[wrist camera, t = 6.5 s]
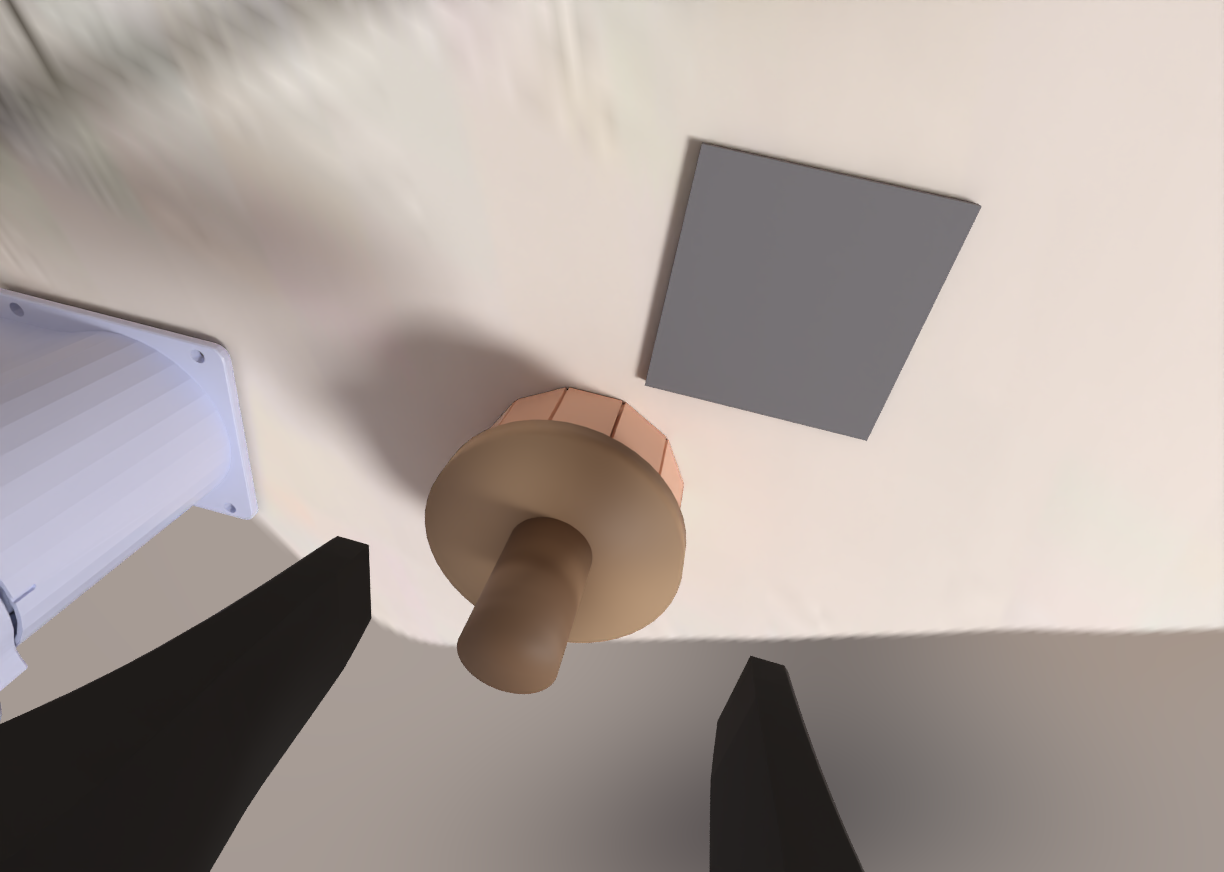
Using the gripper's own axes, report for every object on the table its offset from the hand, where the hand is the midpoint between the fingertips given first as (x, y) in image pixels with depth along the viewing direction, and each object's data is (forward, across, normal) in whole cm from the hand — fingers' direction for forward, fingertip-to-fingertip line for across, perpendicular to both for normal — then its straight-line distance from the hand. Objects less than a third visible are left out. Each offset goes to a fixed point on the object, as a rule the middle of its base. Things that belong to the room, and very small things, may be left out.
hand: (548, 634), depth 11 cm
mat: (+10, -4, -4) cm, 11 cm away
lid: (+7, +1, +4) cm, 8 cm away
